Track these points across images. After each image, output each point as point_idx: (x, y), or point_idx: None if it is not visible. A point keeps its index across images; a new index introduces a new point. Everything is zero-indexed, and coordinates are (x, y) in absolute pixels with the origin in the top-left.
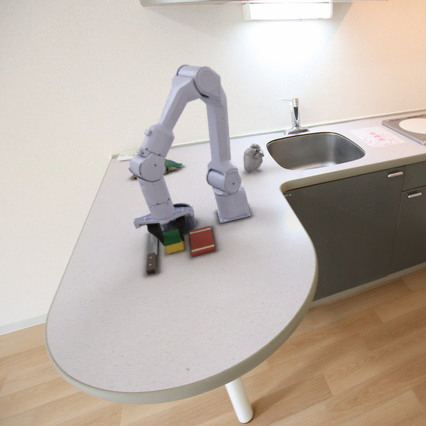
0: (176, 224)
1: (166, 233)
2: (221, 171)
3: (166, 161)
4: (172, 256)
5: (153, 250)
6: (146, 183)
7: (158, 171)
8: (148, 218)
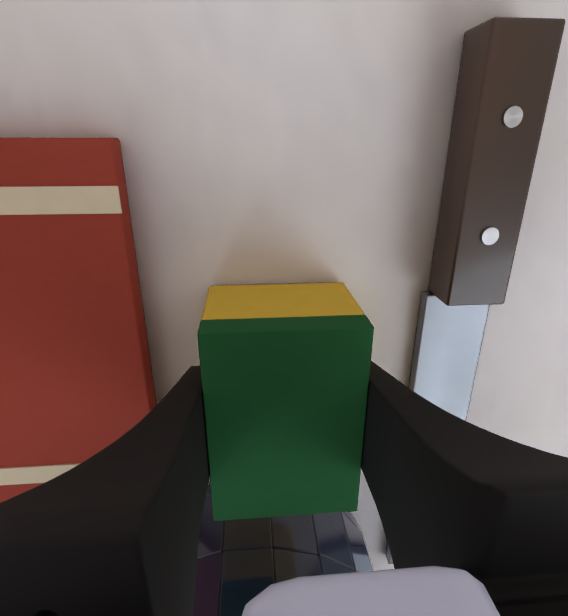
0: (130, 521)
1: (337, 487)
2: None
3: None
4: (306, 232)
5: (443, 361)
6: None
7: None
8: None
